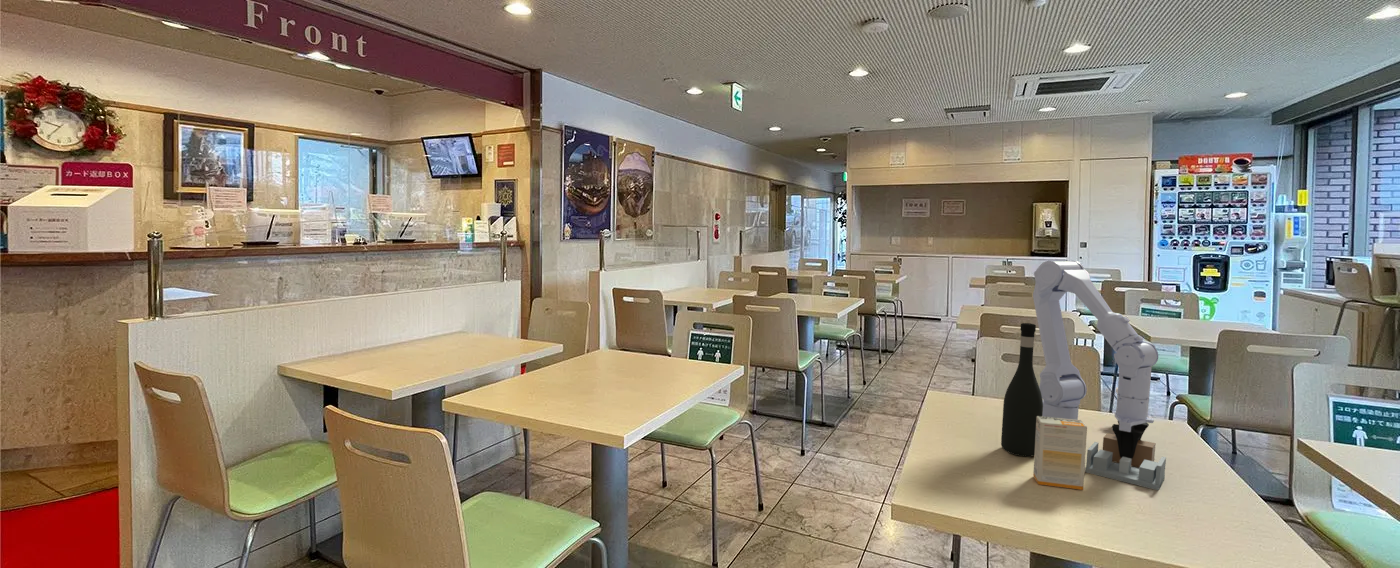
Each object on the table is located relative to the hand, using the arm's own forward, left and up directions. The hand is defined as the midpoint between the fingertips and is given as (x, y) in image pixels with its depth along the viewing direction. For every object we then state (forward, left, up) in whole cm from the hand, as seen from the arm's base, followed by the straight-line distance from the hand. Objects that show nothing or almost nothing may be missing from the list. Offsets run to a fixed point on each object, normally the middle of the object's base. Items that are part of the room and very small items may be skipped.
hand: (1128, 455), depth 135 cm
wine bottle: (-19, -11, -2) cm, 22 cm away
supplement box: (-8, -25, -2) cm, 26 cm away
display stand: (+1, -10, -1) cm, 10 cm away
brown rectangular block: (0, 0, -1) cm, 1 cm away
